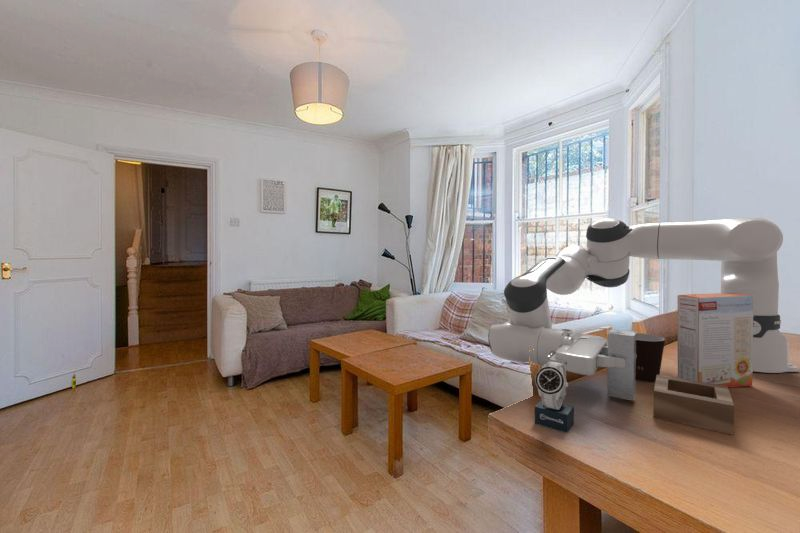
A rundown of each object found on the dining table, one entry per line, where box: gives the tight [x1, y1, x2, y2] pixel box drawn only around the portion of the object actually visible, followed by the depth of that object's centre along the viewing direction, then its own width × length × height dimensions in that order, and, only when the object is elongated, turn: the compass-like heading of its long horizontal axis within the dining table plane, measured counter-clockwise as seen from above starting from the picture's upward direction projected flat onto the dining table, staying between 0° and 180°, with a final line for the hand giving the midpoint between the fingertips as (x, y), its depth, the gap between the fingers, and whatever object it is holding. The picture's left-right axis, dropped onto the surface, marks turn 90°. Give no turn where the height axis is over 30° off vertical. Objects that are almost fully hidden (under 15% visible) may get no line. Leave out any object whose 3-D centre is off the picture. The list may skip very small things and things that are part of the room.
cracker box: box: [677, 292, 754, 388], centre depth 83 cm, size 14×6×21 cm, turn 97°
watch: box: [534, 361, 575, 434], centre depth 65 cm, size 6×8×11 cm
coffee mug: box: [636, 332, 666, 383], centre depth 89 cm, size 12×9×10 cm
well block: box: [652, 374, 735, 436], centre depth 68 cm, size 11×11×5 cm
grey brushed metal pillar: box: [607, 329, 637, 402], centre depth 74 cm, size 4×4×13 cm
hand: (627, 359), depth 74 cm, fingers closed on grey brushed metal pillar, 4 cm apart
